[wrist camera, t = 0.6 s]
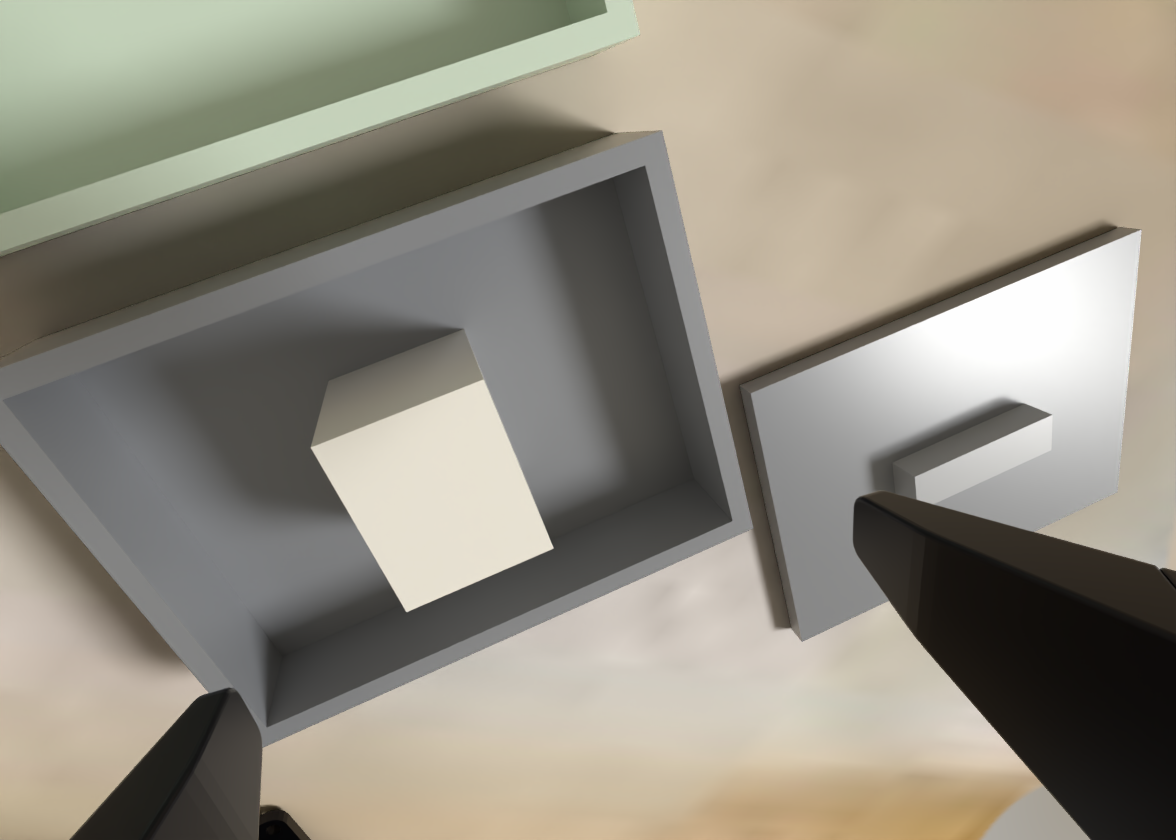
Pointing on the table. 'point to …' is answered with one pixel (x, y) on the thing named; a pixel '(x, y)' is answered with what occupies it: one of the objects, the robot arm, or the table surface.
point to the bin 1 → (240, 87)
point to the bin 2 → (355, 340)
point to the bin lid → (949, 418)
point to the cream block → (428, 470)
